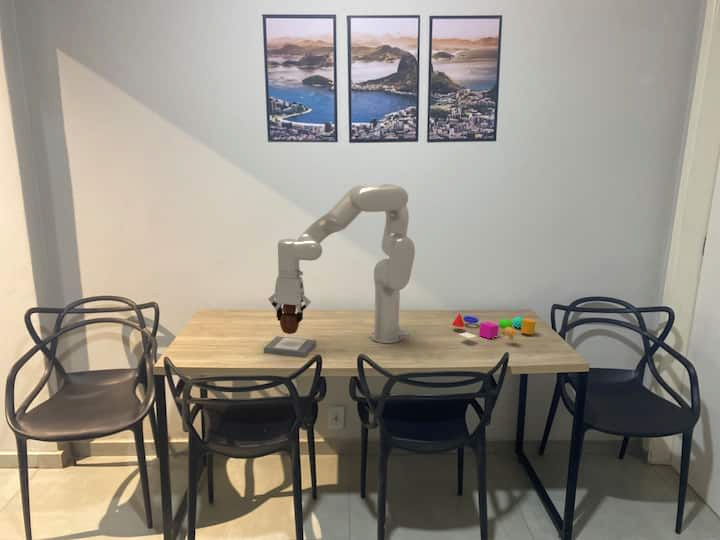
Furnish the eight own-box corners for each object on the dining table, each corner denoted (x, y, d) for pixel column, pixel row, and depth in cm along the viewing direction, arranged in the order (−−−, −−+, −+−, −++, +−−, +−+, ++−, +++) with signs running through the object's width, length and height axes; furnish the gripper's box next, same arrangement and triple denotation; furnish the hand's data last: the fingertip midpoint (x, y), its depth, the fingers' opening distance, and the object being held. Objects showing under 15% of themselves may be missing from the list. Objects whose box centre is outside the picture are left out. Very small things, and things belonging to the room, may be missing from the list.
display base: (316, 345, 198) (316, 339, 198) (305, 357, 187) (305, 352, 186) (277, 340, 202) (276, 335, 202) (263, 352, 191) (263, 347, 190)
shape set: (546, 339, 212) (549, 321, 210) (493, 353, 190) (496, 334, 188) (487, 319, 234) (489, 304, 233) (434, 330, 212) (436, 312, 210)
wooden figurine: (301, 331, 194) (301, 292, 190) (293, 336, 189) (292, 296, 185) (286, 328, 197) (285, 290, 193) (277, 333, 192) (276, 294, 188)
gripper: (315, 273, 189) (315, 319, 193) (270, 269, 193) (271, 315, 197) (308, 278, 182) (308, 326, 186) (262, 274, 186) (263, 321, 190)
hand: (289, 320), depth 192 cm, fingers closed on wooden figurine, 6 cm apart
